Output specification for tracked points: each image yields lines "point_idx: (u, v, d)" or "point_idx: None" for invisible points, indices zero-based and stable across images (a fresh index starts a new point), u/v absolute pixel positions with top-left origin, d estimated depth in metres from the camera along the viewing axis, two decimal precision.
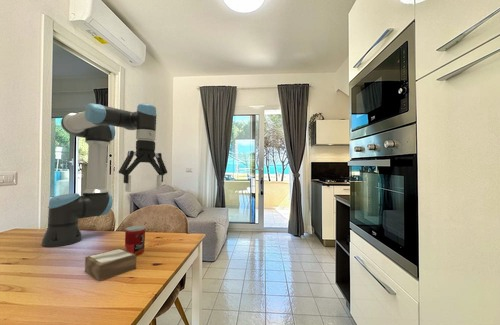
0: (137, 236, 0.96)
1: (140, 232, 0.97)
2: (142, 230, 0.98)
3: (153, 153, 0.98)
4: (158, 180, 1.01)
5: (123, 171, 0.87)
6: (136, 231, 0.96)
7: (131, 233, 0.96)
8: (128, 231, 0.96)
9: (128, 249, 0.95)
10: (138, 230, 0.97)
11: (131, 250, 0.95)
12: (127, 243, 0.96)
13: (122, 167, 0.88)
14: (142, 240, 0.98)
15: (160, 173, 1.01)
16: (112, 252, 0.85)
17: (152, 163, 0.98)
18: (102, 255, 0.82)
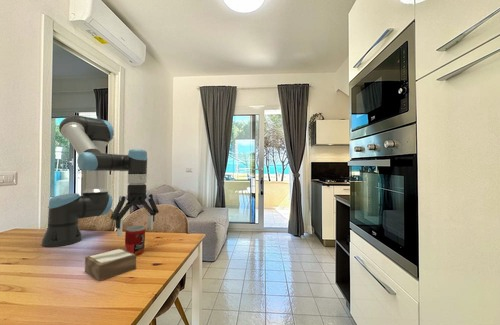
0: (137, 236, 0.96)
1: (140, 232, 0.97)
2: (142, 230, 0.98)
3: (144, 195, 1.02)
4: (149, 220, 1.04)
5: (115, 217, 0.91)
6: (136, 231, 0.96)
7: (131, 233, 0.96)
8: (128, 231, 0.96)
9: (128, 249, 0.95)
10: (138, 230, 0.97)
11: (132, 250, 0.95)
12: (127, 243, 0.96)
13: (114, 213, 0.92)
14: (142, 240, 0.98)
15: (151, 213, 1.05)
16: (112, 252, 0.85)
17: (143, 205, 1.02)
18: (102, 255, 0.82)
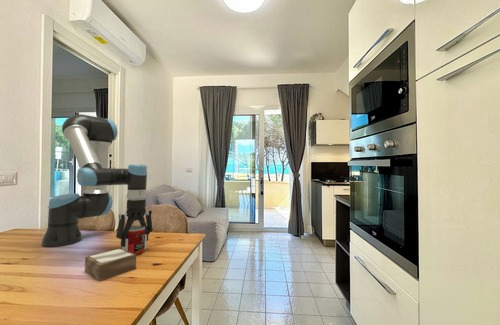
0: (137, 236, 0.96)
1: (140, 232, 0.97)
2: (142, 230, 0.98)
3: (144, 210, 1.02)
4: None
5: (120, 236, 0.93)
6: (136, 231, 0.96)
7: (131, 233, 0.96)
8: None
9: (128, 249, 0.95)
10: (138, 230, 0.97)
11: (131, 250, 0.95)
12: None
13: (118, 232, 0.93)
14: (142, 240, 0.98)
15: (145, 232, 1.02)
16: (112, 252, 0.85)
17: (140, 221, 1.01)
18: (102, 255, 0.82)
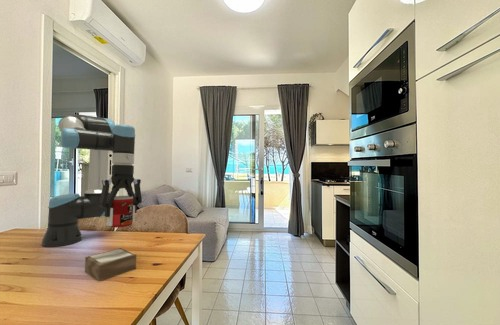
0: (123, 205, 0.85)
1: (127, 201, 0.86)
2: (130, 199, 0.86)
3: (132, 178, 0.90)
4: None
5: (104, 204, 0.81)
6: (122, 199, 0.84)
7: (116, 201, 0.84)
8: None
9: (113, 220, 0.84)
10: (125, 198, 0.85)
11: (117, 220, 0.84)
12: None
13: (101, 200, 0.82)
14: (130, 210, 0.86)
15: (133, 202, 0.91)
16: (112, 252, 0.85)
17: (128, 190, 0.89)
18: (102, 255, 0.82)
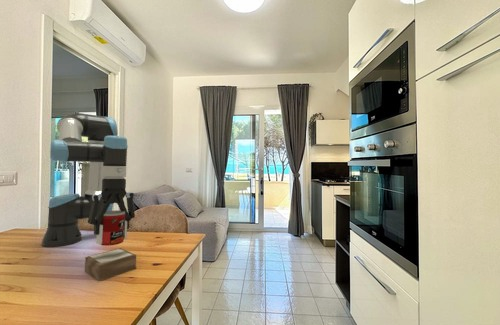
0: (114, 222, 0.79)
1: (118, 217, 0.80)
2: (121, 215, 0.81)
3: (124, 191, 0.85)
4: None
5: (92, 222, 0.76)
6: (113, 216, 0.79)
7: (106, 218, 0.79)
8: None
9: (103, 237, 0.79)
10: (115, 215, 0.80)
11: (107, 238, 0.78)
12: None
13: (90, 217, 0.77)
14: (121, 227, 0.81)
15: (125, 218, 0.86)
16: (112, 252, 0.85)
17: (119, 204, 0.84)
18: (102, 255, 0.82)
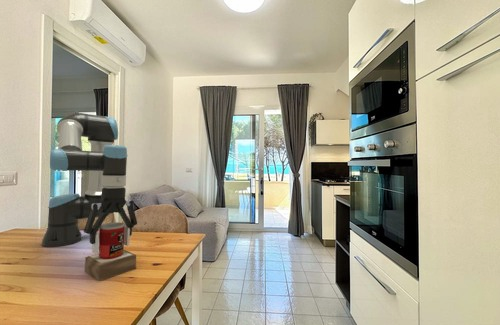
0: (113, 236, 0.79)
1: (117, 230, 0.80)
2: (120, 228, 0.81)
3: (123, 201, 0.85)
4: (125, 234, 0.86)
5: (88, 231, 0.75)
6: (112, 229, 0.79)
7: (106, 231, 0.78)
8: (102, 229, 0.79)
9: (102, 251, 0.78)
10: (115, 228, 0.79)
11: (106, 252, 0.78)
12: (101, 243, 0.79)
13: (87, 226, 0.76)
14: (120, 240, 0.81)
15: (128, 225, 0.86)
16: None
17: (120, 213, 0.85)
18: None
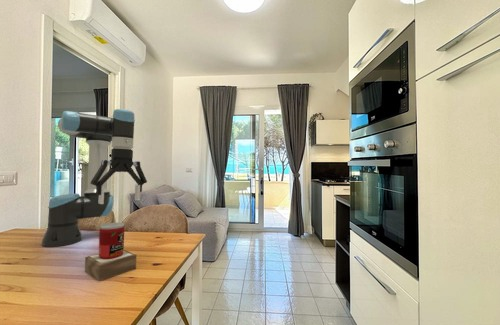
0: (113, 236, 0.79)
1: (117, 230, 0.80)
2: (120, 228, 0.81)
3: (130, 162, 0.92)
4: (136, 190, 0.95)
5: (95, 182, 0.82)
6: (112, 229, 0.79)
7: (106, 231, 0.79)
8: (102, 229, 0.79)
9: (102, 251, 0.78)
10: (115, 228, 0.80)
11: (106, 252, 0.78)
12: (101, 243, 0.79)
13: (94, 178, 0.82)
14: (120, 240, 0.81)
15: (138, 183, 0.95)
16: None
17: (129, 172, 0.92)
18: None
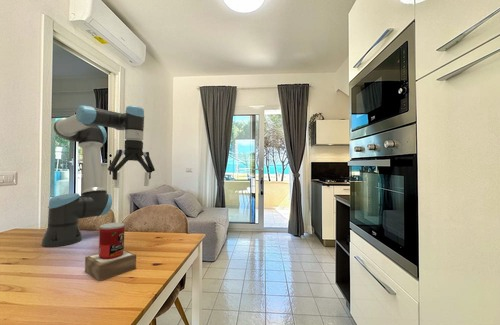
0: (113, 235, 0.79)
1: (117, 230, 0.80)
2: (120, 228, 0.81)
3: (141, 152, 1.05)
4: (146, 177, 1.08)
5: (112, 168, 0.94)
6: (112, 229, 0.79)
7: (106, 231, 0.79)
8: (102, 229, 0.79)
9: (102, 251, 0.78)
10: (115, 228, 0.80)
11: (106, 252, 0.78)
12: (101, 243, 0.79)
13: (111, 165, 0.95)
14: (120, 240, 0.81)
15: (148, 171, 1.08)
16: None
17: (140, 161, 1.05)
18: None
